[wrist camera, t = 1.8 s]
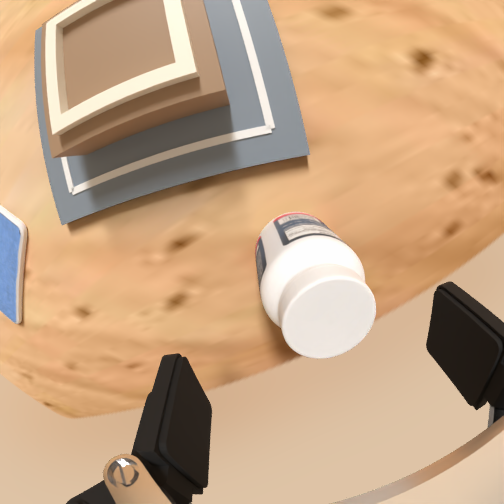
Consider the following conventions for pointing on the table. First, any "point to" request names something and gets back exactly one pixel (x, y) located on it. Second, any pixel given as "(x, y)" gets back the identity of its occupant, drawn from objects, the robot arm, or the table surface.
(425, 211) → the table surface
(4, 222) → the blue rectangular panel
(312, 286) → the pill bottle
